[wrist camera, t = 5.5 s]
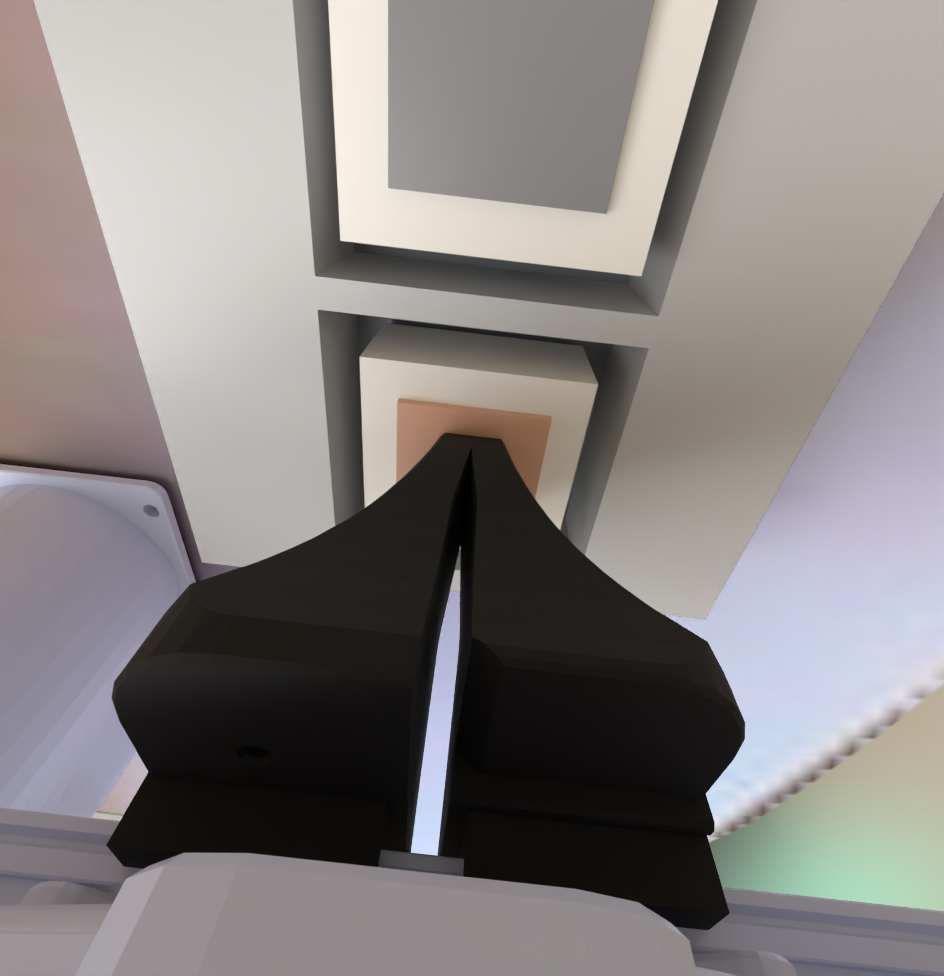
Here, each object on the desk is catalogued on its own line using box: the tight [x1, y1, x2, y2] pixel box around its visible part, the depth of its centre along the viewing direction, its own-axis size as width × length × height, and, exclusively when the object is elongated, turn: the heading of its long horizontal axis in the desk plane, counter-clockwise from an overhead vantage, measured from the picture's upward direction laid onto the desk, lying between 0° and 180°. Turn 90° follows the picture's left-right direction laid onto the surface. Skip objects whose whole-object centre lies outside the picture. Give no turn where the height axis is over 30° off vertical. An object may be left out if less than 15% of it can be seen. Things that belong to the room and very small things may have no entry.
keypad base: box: [34, 0, 944, 619], centre depth 9 cm, size 22×14×4 cm, turn 174°
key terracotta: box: [360, 323, 598, 530], centre depth 12 cm, size 5×5×3 cm
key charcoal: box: [328, 0, 718, 276], centre depth 7 cm, size 5×5×3 cm
